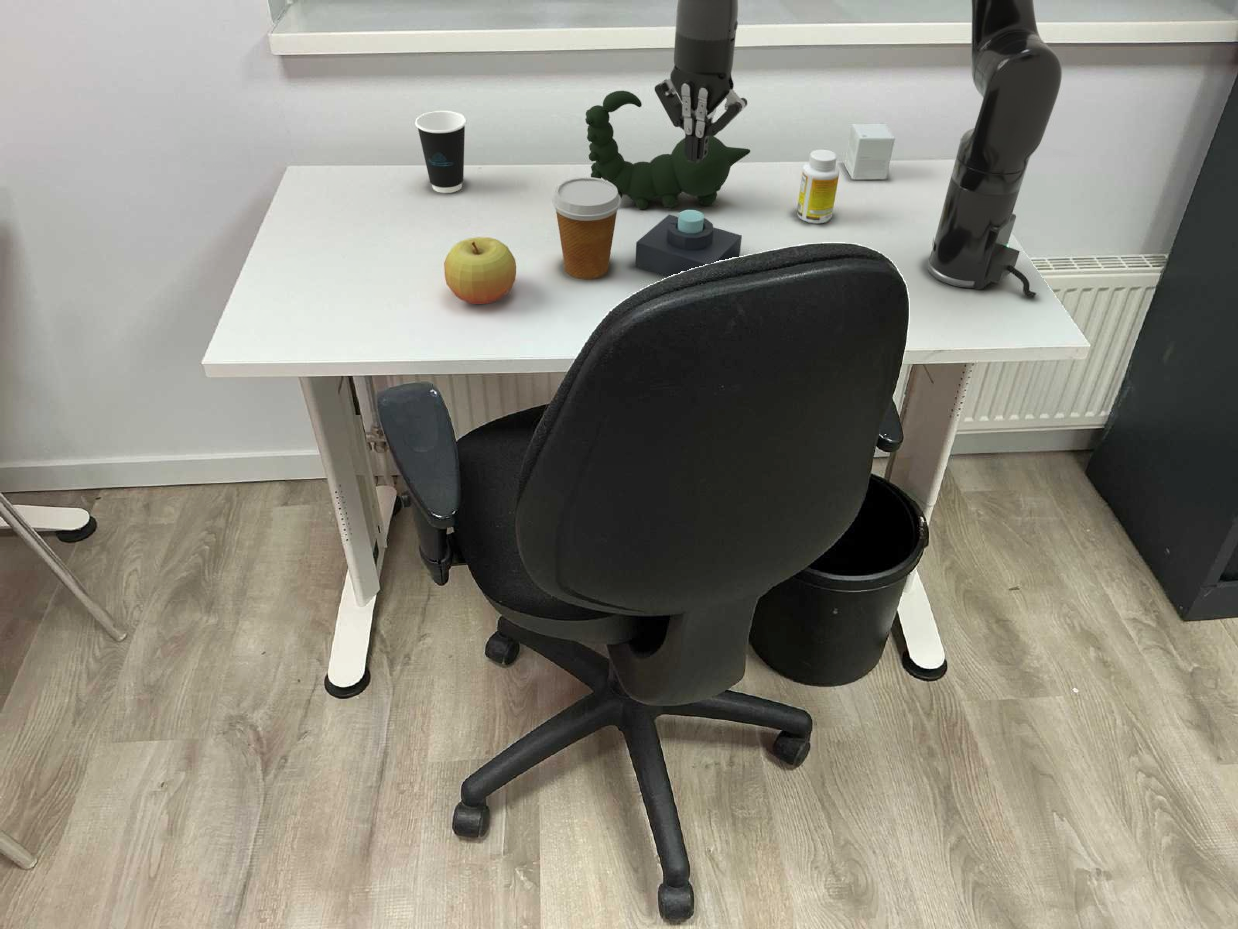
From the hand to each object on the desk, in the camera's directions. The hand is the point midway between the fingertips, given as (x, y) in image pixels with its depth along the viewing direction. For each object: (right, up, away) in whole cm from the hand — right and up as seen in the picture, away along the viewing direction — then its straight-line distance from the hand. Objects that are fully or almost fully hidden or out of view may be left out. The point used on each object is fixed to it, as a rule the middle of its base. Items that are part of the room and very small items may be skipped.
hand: (695, 159), depth 135 cm
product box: (+32, +8, +35) cm, 48 cm away
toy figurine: (-3, +1, +25) cm, 25 cm away
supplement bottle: (+20, -2, +22) cm, 30 cm away
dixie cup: (-38, +4, +27) cm, 47 cm away
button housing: (0, -12, +11) cm, 16 cm away
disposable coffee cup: (-15, -13, +9) cm, 22 cm away
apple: (-29, -18, +3) cm, 35 cm away
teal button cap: (0, -8, +7) cm, 10 cm away
